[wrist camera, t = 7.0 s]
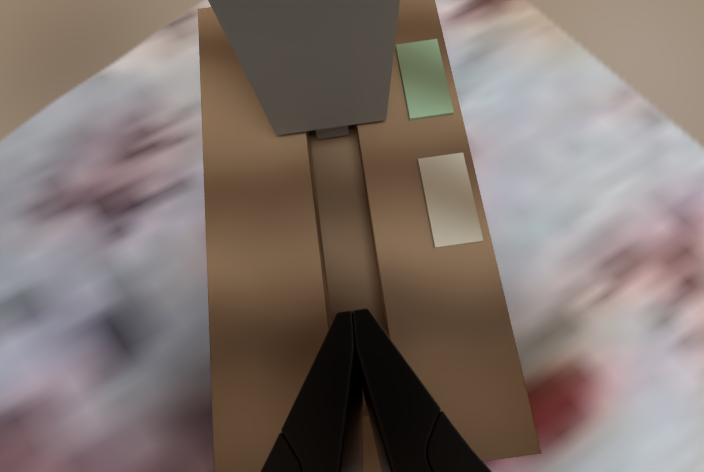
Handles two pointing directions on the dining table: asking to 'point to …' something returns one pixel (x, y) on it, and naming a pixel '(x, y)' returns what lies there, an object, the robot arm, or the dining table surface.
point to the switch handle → (314, 59)
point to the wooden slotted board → (352, 252)
